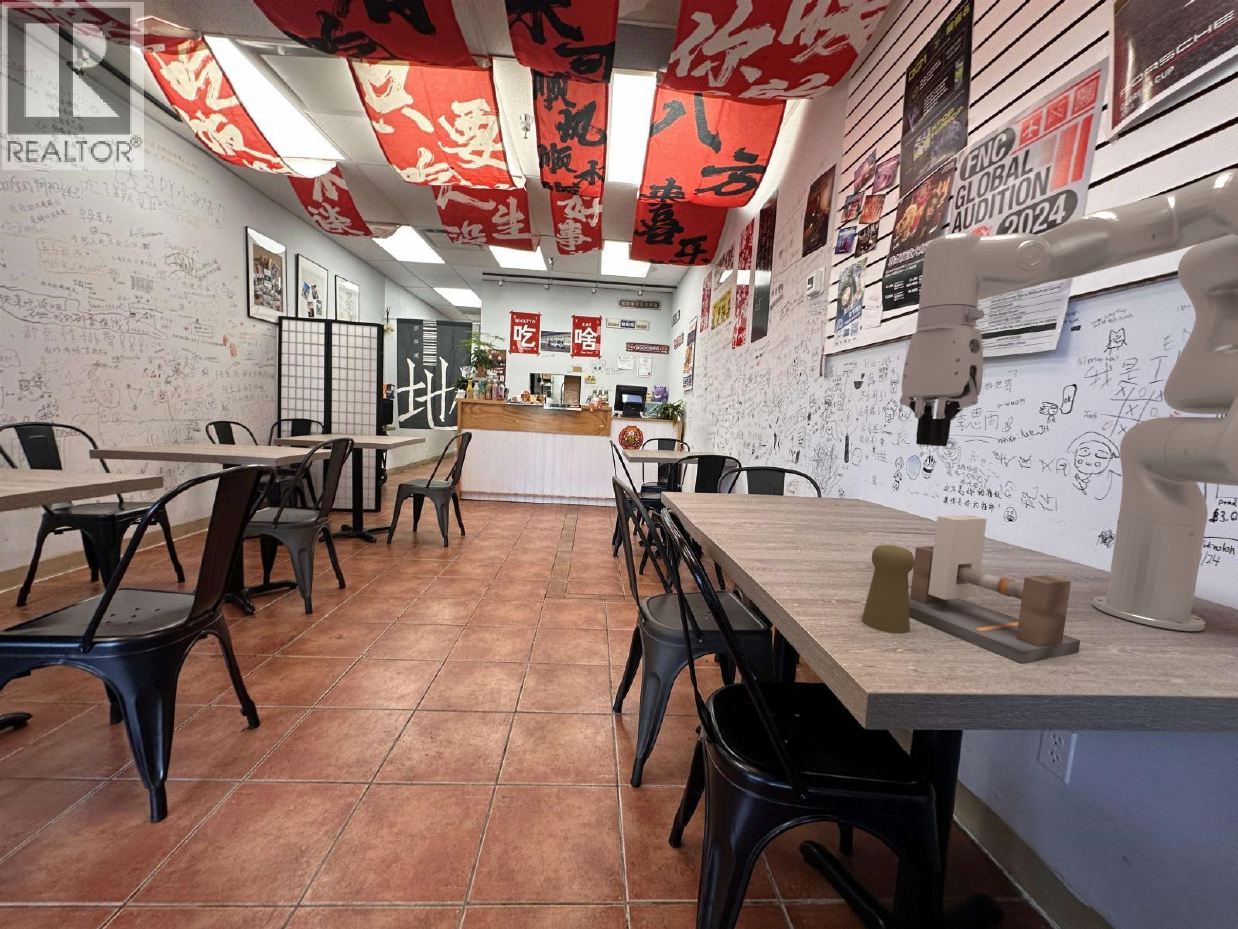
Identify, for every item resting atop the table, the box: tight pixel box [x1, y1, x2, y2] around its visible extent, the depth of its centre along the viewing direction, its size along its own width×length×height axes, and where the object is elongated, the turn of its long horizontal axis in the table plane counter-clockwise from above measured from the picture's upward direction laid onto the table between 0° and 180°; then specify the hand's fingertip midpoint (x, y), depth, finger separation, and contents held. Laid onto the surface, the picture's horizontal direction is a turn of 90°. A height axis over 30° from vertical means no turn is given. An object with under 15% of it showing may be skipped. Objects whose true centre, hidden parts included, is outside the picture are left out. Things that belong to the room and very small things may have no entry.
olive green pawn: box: [861, 544, 915, 634], centre depth 72 cm, size 6×6×11 cm
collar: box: [928, 514, 987, 600], centre depth 76 cm, size 7×2×12 cm, turn 113°
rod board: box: [909, 545, 1081, 664], centre depth 73 cm, size 12×18×10 cm, turn 23°
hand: (931, 444), depth 80 cm, fingers closed
